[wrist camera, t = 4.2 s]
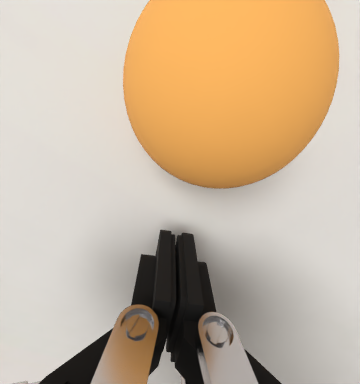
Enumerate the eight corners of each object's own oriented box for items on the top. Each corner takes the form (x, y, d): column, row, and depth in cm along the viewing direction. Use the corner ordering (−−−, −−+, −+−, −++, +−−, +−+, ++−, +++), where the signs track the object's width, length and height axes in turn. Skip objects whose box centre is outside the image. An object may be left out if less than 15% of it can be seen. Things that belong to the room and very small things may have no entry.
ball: (247, 170, 11) (324, 242, 5) (132, 148, 10) (85, 204, 5) (295, 33, 9) (517, -89, 3) (150, -7, 8) (97, -252, 2)
